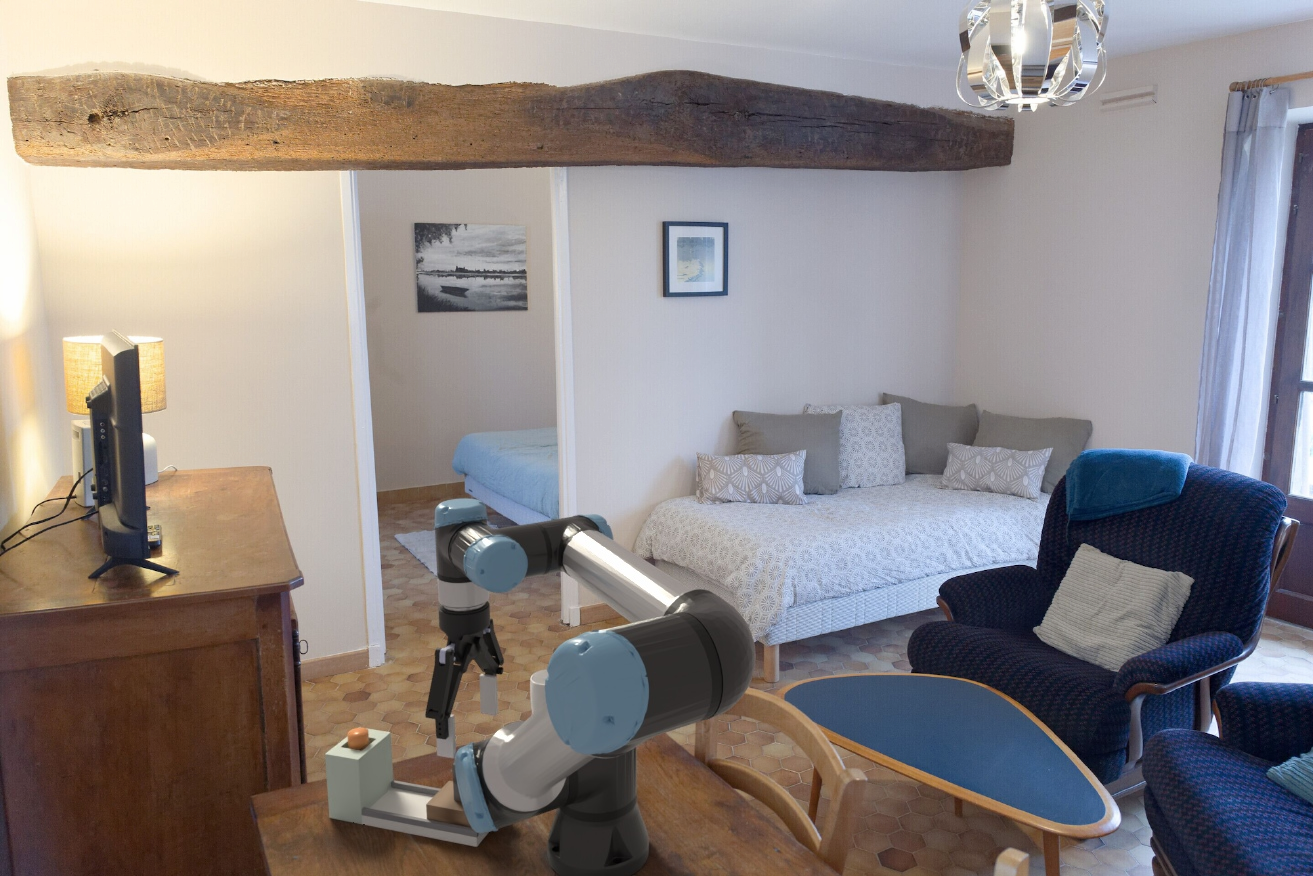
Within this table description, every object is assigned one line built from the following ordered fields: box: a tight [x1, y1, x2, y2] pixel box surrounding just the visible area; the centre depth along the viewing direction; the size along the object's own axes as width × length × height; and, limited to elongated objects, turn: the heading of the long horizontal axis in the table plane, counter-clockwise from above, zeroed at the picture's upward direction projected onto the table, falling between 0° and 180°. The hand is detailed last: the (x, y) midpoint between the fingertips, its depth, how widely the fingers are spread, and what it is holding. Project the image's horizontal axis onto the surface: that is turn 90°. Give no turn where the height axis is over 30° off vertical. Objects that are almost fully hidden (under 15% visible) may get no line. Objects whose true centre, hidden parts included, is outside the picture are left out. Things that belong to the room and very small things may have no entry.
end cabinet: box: [324, 726, 394, 825], centre depth 149 cm, size 6×9×11 cm, turn 163°
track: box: [361, 779, 489, 848], centre depth 146 cm, size 20×9×2 cm, turn 73°
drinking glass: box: [529, 668, 549, 715], centre depth 164 cm, size 7×7×15 cm
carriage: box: [426, 761, 472, 828], centre depth 143 cm, size 10×7×9 cm
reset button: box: [346, 727, 369, 751], centre depth 148 cm, size 3×3×2 cm
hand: (469, 734), depth 141 cm, fingers open, 13 cm apart
